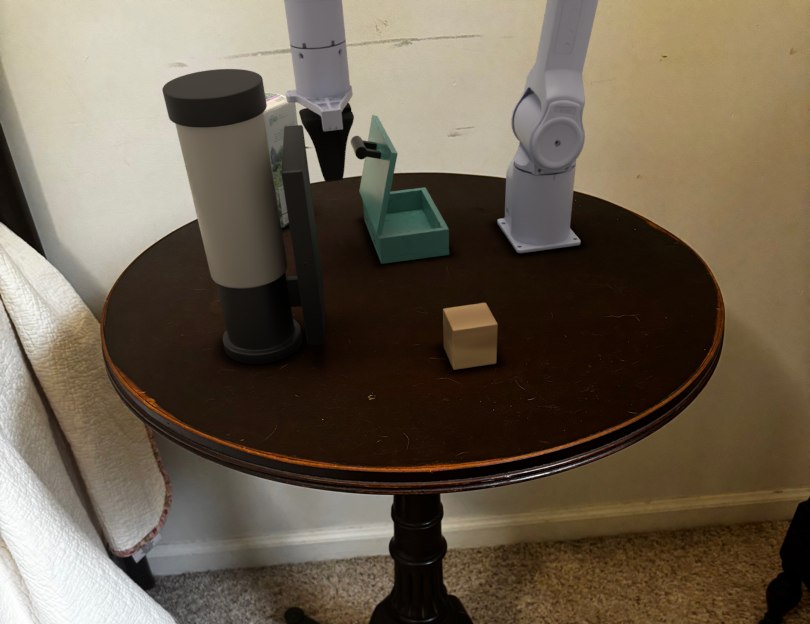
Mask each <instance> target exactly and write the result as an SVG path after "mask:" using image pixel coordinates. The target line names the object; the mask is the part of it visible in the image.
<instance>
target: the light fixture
mask: <svg viewBox="0 0 810 624" xmlns="http://www.w3.org/2000/svg"><path fill="white" fill-rule="evenodd" d="M265 92H266V91H265V85H264V78H263V76H262V75H261V74H260V73H258V72H256V71H253V70H247V69H242V68H220V69H219V68H218V69H209V70H202V71H196V72H192V73H187V74H184V75H180V76H178V77H176V78H173V79H171V80H169V81H168V82H166V83H164V85H163V87H162V95H163V99H164V104H165V107H166V112H167V115H168V120H169V121H170V122H172V123H174V124H175V129H176V132H177V136H178V141H179V145H180V150H181V155H182V158H183V162H184V167H185V171H186V175H187V179H188V184H189V189H190V192H191V197H192V201H193V205H194V211H195V214H196V218H197V222H198V227H199V231H200V234H201V240H202V244H203V248H204V253H205V257H206V261H207V265H208V270H209V274H210V277H211V279H212V280H213V282H215V286H216V290H217V294H218V299H219V303H220V307H221V312H222V316H223V320H224V325H225V329H226V330H225V331H224V332H223V334H222V344H223V348H224V352H225V353H226V355H227V356H228V357H229V358H230V359H232V360H233V361H235V362H238V363H242V364H245V365H246V364H247V365H266V364H272V363H276V362H279V361H281V360H284V359H286V358H288V357H290V356H292V355H293V354H295V353H296V352H297V351H298V350H299V349H300V348H301V345H302V343H303V334H302V333H303V332H302V327H301V325H300V323H299V322H298V321H297V320H295V319H294V317H293V310H292V309H293V308H297V307H298V308H299V307H301V310H302V311H301V312H302V317H303V324H304V331H305V337H306V343H307V346H317V345H325V344H326V342H327V340H326V315H325V313H326V312H325V287H324V286H325V285H324V279H323V271H322V262H321V256H320V254H321V253H320V248H319V241H318V240H319V239H318V233H317V225H316V217H315V210H314V209H315V208H314V202H313V193H312V186H311V178H310V177H311V176H310V169H309V162H308V155H307V147H306V140H305V132H304V126H303V124H298V125H295V126H285V127H284V137H283V155H282V173H281V174H282V181H283V188H284V194H285V201H286V207H287V214H288V220H289V225H288V227H289V233H290V240H291V246H292V252H293V259H294V265H295V271H296V275H291V276H287V273H286V271H287V269H288V260H287V254H286V248H285V241H284V240H285V239H284V235H283V228H281V222H280V216H279V209H278V203H277V197H276V191H275V184H274V178H273V172H272V166H271V159H270V153H269V147H268V141H267V135H266V128H265V122H264V116H263V112H264V111H265V109H266V107H267V104H266V98H265Z"/></svg>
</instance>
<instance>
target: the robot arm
mask: <svg viewBox="0 0 810 624" xmlns="http://www.w3.org/2000/svg"><path fill="white" fill-rule="evenodd" d="M283 3H284V10H285V19H286V24H287V25H286V26H287V32H288V40H289V46H290V54H291V61H292V68H293V76H294V83H295V89H292V90H287V91H285V96H286V99H287V102H288V103H294V102H295V103H298V104H299V105H301V106H303V107H304V108H301V109H300V110H299V111H298V115H299V118H300V122H301V125H302V126H303V129H305V131H306V133H307V134H308V137H310V140H311V142H312V144H313V148H314V151H315V153H316V158H317V162H318V165H319V168H320V171H321V174H322V178H323V179H324V182H325V183H327V182H335V181H342V180H344V176H345V175H344V174H345V167H346V166H345V165H346V151H347V143H348V139H349V135H350V132H351V128H352V127H353V124H354V120H355V116H354V113H353V111H352V106H351V104H350V101H351V99H352V97H353V95H354V94H353V87H352V85H351V83H350V82H351V81H350V71H349V61H348V51H347V50H348V49H347V41H346V40H347V39H346V29H345V17H344V7H343V6H344V5H343V0H283ZM598 4H599V0H546V3H545V10H544V14H543V20H542V26H541V31H540V37H539V42H538V47H537V52H536V57H535V62H534V64H533V66H532V67H531V69H530V70H529V72H528V73H527V76H526V78H525V84H524V88H523V91H522V92H521V95H520V97H519V98H518V100H517V101H516V103H515V105H514V106H513V109H512V113H511V118H510V126H511V130H512V133H513V135H514V136H515V138H516V139H517V141H519V143H518V147H517V150H516V152H515V154H514V155H513V158H511V160H510V162H509V164H508V167H507V169H506V174H505V201H504V217H503V218H498V219H497V221H496V223H497V225H498V226H499V228H500V229H501V231H502V233H503V234H504V235H505V237H506V238H507V240H508V241H509V243H510V244H511V246H512V248H513V249H514V250H515V251H516V253H518V254H525V253H534V252H540V251H541V252H542V251H548V250H557V249H564V248H569V247H578V246H580V245H581V242H582V241H581V239H580V238H579V237H578V236H577V234H575V232H574V231H573V230H572V228H571V219H572V210H573V200H574V198H573V197H574V189H575V178H576V170H577V169H576V168H577V167H576V166H577V159H578V158H579V157H580V155H581V153H582V151H583V149H584V146H585V140H586V133H585V131H586V130H585V127H584V123H583V114H584V108H585V104H586V96H585V89H584V87H585V86H584V81H583V80H584V79H583V72H584V67H585V62H586V58H587V54H588V48H589V45H590V40H591V35H592V31H593V27H594V21H595V17H596V13H597V7H598Z"/></svg>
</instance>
